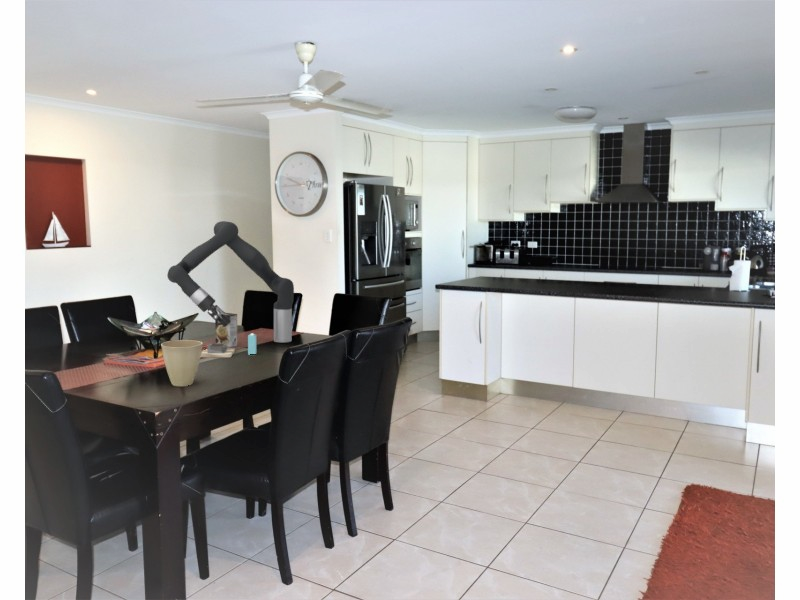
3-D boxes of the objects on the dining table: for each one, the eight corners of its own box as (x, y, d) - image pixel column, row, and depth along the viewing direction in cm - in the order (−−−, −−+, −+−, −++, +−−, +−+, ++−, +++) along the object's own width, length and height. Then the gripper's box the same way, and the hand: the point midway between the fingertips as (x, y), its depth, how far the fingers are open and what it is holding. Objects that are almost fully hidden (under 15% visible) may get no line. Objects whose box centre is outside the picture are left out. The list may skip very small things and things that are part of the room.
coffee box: (214, 345, 309) (214, 313, 307) (223, 343, 315) (222, 311, 313) (229, 347, 306) (229, 315, 304) (237, 345, 312) (237, 313, 310)
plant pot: (197, 389, 231) (197, 347, 229) (156, 389, 230) (155, 347, 228) (207, 379, 246) (206, 339, 244) (168, 379, 245) (167, 339, 243)
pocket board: (205, 350, 297) (204, 342, 296) (234, 350, 299) (234, 342, 298) (199, 357, 283) (198, 348, 283) (230, 357, 285) (230, 348, 284)
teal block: (249, 353, 294) (248, 332, 293) (256, 353, 295) (256, 332, 294) (248, 354, 291) (247, 334, 289) (255, 355, 291) (255, 334, 290)
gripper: (205, 295, 280) (231, 321, 283) (211, 292, 294) (236, 316, 297) (193, 307, 280) (219, 332, 283) (199, 303, 294) (224, 327, 297)
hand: (228, 324), depth 290 cm, fingers open, 8 cm apart
